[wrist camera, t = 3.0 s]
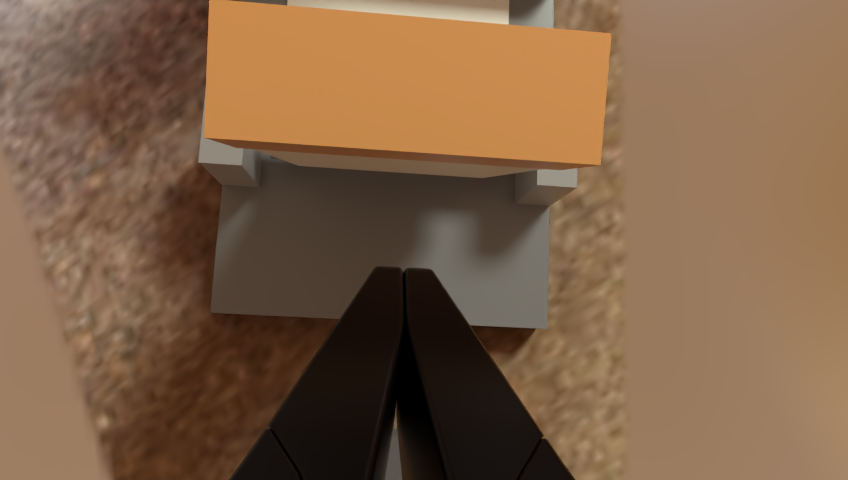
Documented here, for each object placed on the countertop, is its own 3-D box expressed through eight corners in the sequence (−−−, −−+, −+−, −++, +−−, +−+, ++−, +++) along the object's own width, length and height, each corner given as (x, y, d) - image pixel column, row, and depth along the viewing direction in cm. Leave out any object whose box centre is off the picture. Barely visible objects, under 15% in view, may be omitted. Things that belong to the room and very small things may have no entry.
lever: (503, 183, 19) (662, 169, 8) (274, 168, 18) (133, 132, 8) (507, 126, 19) (674, 38, 8) (277, 109, 18) (138, -8, 8)
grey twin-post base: (536, 328, 20) (575, 329, 16) (219, 313, 19) (183, 310, 16) (544, -19, 22) (580, -91, 18) (253, -46, 21) (227, -127, 17)
